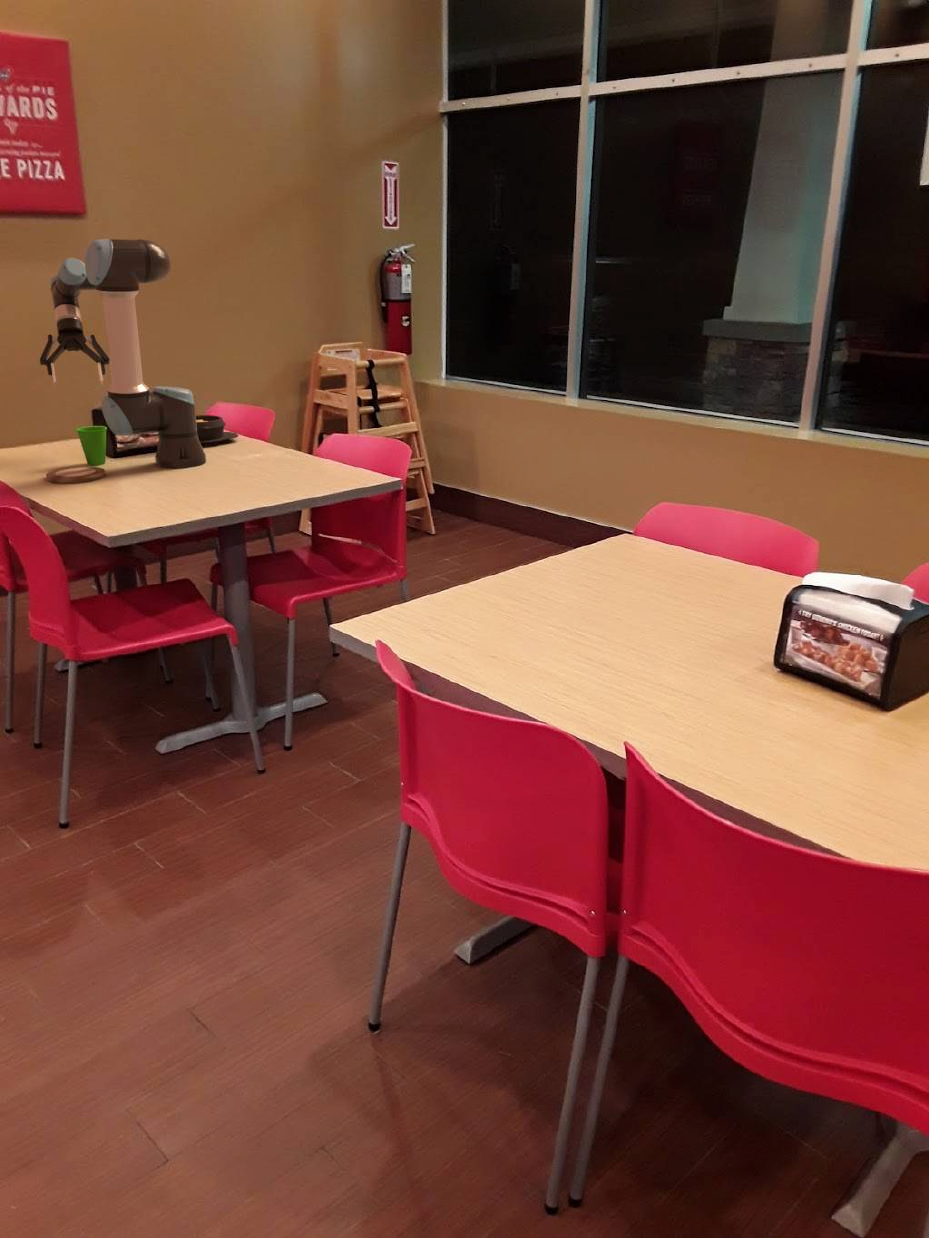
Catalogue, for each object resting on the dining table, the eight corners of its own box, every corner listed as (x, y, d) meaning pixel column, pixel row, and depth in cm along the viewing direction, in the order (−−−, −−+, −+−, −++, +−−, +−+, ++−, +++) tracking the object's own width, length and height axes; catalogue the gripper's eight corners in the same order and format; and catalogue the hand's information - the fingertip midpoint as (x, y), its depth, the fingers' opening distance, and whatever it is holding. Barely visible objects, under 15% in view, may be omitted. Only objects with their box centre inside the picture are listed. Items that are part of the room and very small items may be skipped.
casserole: (172, 451, 310) (169, 426, 307) (158, 442, 325) (155, 417, 321) (246, 444, 321) (244, 419, 318) (229, 435, 336) (227, 411, 333)
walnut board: (117, 473, 279) (116, 468, 278) (79, 485, 265) (78, 480, 264) (73, 469, 284) (72, 464, 283) (34, 481, 270) (33, 475, 269)
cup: (117, 461, 295) (112, 426, 291) (103, 467, 287) (98, 431, 283) (89, 460, 296) (84, 425, 292) (75, 466, 288) (70, 430, 284)
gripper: (110, 329, 305) (120, 388, 301) (26, 329, 295) (35, 390, 290) (111, 316, 299) (121, 377, 294) (25, 316, 288) (34, 378, 284)
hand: (78, 383), depth 292 cm, fingers open, 13 cm apart
